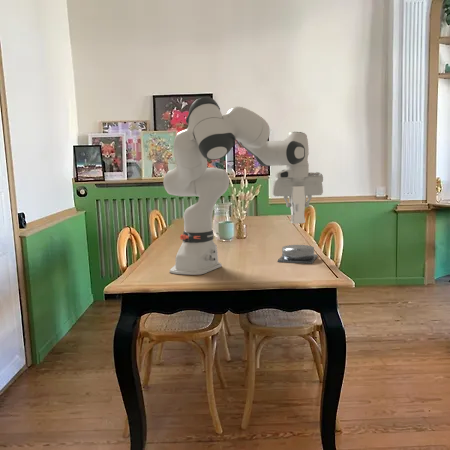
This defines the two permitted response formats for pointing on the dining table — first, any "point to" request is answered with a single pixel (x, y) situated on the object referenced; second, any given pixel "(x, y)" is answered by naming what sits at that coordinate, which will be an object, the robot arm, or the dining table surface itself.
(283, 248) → the duct stub
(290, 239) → the dining table surface
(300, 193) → the pale grey rectangular box
